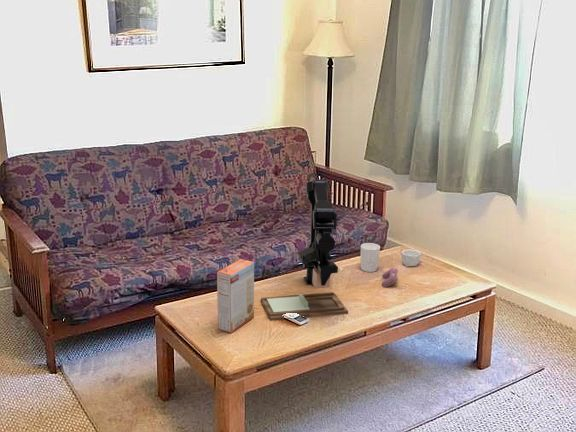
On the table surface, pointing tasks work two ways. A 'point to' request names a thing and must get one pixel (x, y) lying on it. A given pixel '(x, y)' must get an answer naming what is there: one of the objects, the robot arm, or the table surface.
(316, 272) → the block
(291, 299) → the lid
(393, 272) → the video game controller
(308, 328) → the table surface
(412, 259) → the teacup
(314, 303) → the board
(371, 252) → the white cup
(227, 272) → the cracker box
